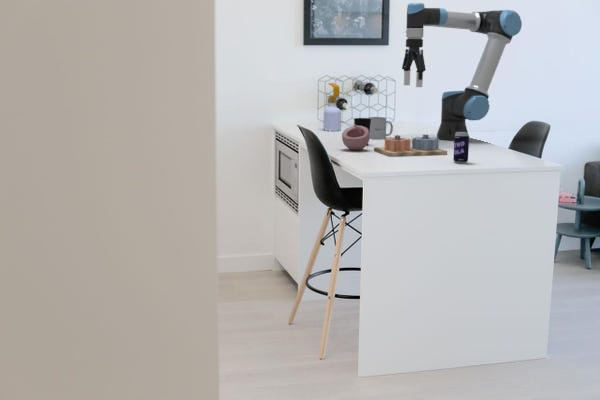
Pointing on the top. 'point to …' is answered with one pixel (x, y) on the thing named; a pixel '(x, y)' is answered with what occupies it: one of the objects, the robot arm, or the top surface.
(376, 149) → the gear board
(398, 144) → the loose gear
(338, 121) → the soap bottle
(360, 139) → the mortar and pestle
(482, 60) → the robot arm
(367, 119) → the cup
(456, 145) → the beverage can
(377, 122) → the mug
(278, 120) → the top surface
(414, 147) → the seated gear
